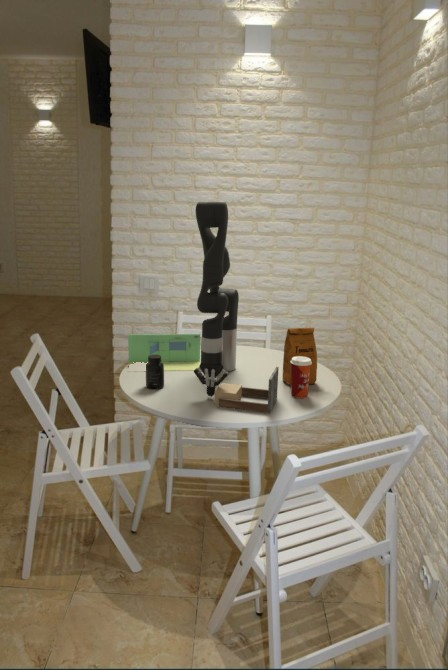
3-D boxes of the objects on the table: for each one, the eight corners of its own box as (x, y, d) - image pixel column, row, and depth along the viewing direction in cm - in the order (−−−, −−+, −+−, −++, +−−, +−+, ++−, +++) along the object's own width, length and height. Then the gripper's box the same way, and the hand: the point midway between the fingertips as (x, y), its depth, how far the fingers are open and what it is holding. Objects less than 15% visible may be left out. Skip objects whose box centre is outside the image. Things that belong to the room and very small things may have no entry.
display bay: (228, 393, 218) (229, 361, 215) (276, 398, 214) (278, 366, 210) (218, 407, 205) (219, 374, 201) (269, 413, 200) (271, 379, 197)
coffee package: (318, 386, 227) (322, 330, 222) (287, 387, 225) (290, 331, 219) (310, 377, 237) (313, 324, 231) (280, 379, 234) (282, 324, 229)
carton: (221, 395, 216) (221, 382, 215) (241, 398, 214) (241, 385, 213) (214, 404, 208) (214, 391, 207) (235, 407, 206) (235, 393, 205)
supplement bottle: (146, 383, 226) (145, 353, 222) (164, 383, 226) (164, 353, 223) (145, 390, 219) (145, 358, 216) (164, 390, 220) (163, 358, 216)
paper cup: (304, 400, 212) (306, 363, 209) (284, 396, 216) (286, 359, 212) (313, 394, 219) (315, 358, 215) (294, 390, 222) (296, 354, 219)
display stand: (199, 361, 255) (200, 333, 251) (202, 371, 243) (202, 341, 240) (128, 362, 251) (128, 334, 248) (127, 372, 239) (127, 342, 236)
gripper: (232, 348, 209) (231, 394, 214) (197, 344, 213) (196, 390, 217) (227, 353, 202) (225, 401, 207) (190, 350, 206) (189, 397, 210)
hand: (210, 395), depth 212 cm, fingers closed
